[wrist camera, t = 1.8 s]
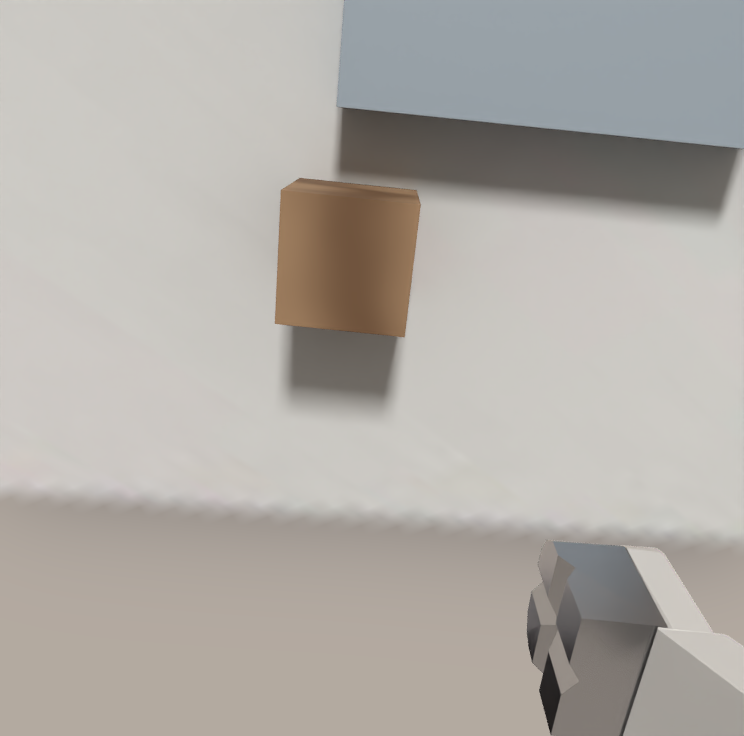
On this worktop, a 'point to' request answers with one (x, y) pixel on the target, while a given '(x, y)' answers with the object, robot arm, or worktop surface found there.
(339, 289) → the walnut cube
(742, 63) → the plate
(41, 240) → the worktop surface
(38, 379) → the worktop surface
